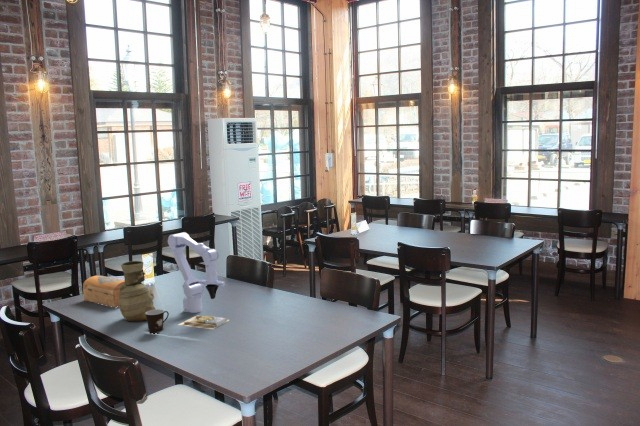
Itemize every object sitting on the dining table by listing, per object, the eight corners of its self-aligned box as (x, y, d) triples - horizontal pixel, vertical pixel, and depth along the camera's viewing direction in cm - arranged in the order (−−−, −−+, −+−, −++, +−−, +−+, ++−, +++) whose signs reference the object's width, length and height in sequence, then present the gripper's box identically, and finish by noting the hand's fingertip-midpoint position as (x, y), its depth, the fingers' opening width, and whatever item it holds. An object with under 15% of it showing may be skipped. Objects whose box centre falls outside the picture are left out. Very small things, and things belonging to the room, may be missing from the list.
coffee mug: (148, 336, 276) (147, 315, 274) (145, 331, 283) (143, 311, 282) (173, 331, 281) (171, 311, 280) (169, 326, 289) (167, 307, 287)
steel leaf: (203, 325, 286) (203, 320, 285) (213, 320, 293) (212, 315, 293) (216, 327, 283) (216, 322, 282) (225, 322, 290) (225, 317, 290)
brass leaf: (195, 324, 288) (195, 319, 288) (204, 319, 295) (204, 314, 295) (207, 325, 285) (207, 321, 285) (216, 320, 292) (216, 316, 292)
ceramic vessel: (162, 311, 315) (158, 257, 311) (152, 323, 294) (148, 266, 290) (127, 312, 315) (123, 258, 311) (115, 325, 294) (110, 267, 290)
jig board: (177, 326, 288) (177, 322, 288) (195, 317, 302) (195, 313, 301) (213, 331, 280) (212, 327, 279) (229, 321, 293) (229, 317, 293)
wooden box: (138, 301, 336) (137, 278, 334) (114, 309, 323) (112, 284, 321) (108, 294, 353) (106, 272, 351) (83, 301, 340) (81, 278, 338)
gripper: (195, 273, 298) (196, 299, 300) (218, 275, 292) (220, 301, 294) (203, 270, 305) (204, 295, 307) (226, 272, 299) (228, 298, 301)
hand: (213, 298), depth 301 cm, fingers closed
